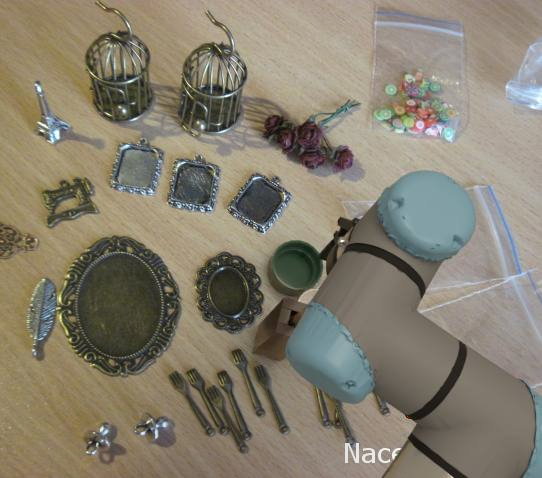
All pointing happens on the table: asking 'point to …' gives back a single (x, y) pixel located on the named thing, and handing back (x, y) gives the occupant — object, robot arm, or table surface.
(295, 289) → the bowl
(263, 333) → the stand
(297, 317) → the stick
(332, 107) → the table surface
